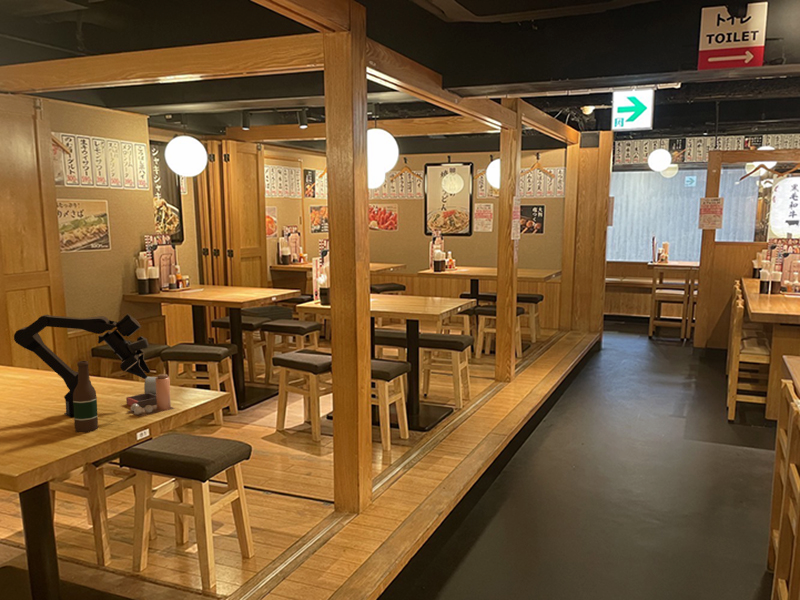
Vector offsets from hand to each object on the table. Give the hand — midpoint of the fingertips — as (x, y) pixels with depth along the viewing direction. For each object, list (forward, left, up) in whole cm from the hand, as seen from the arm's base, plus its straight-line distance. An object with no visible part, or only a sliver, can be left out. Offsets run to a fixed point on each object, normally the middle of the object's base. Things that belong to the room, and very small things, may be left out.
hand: (147, 375), depth 239 cm
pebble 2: (-7, -5, -11) cm, 14 cm away
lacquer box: (+1, +6, -14) cm, 15 cm away
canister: (+3, -5, -13) cm, 14 cm away
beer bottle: (-26, -6, -14) cm, 30 cm away
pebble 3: (-3, -6, -11) cm, 13 cm away
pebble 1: (-6, -1, -11) cm, 13 cm away
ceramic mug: (+13, +20, -14) cm, 27 cm away
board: (-1, -3, -14) cm, 14 cm away
